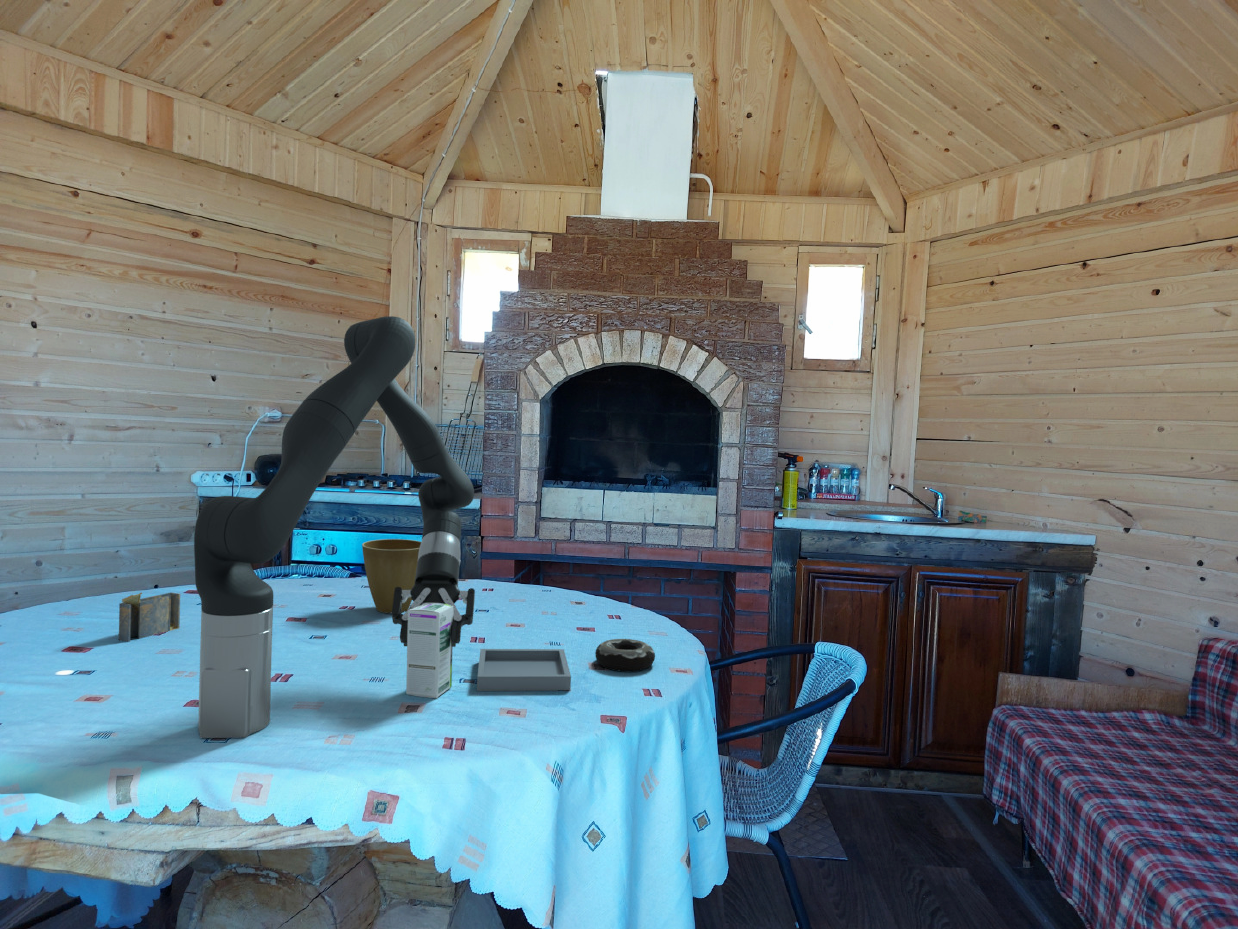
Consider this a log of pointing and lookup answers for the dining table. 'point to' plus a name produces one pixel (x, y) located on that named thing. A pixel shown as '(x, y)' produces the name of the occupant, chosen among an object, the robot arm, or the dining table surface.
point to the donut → (625, 654)
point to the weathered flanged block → (148, 615)
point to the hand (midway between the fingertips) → (429, 644)
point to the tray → (523, 670)
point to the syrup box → (429, 650)
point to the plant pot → (390, 569)
